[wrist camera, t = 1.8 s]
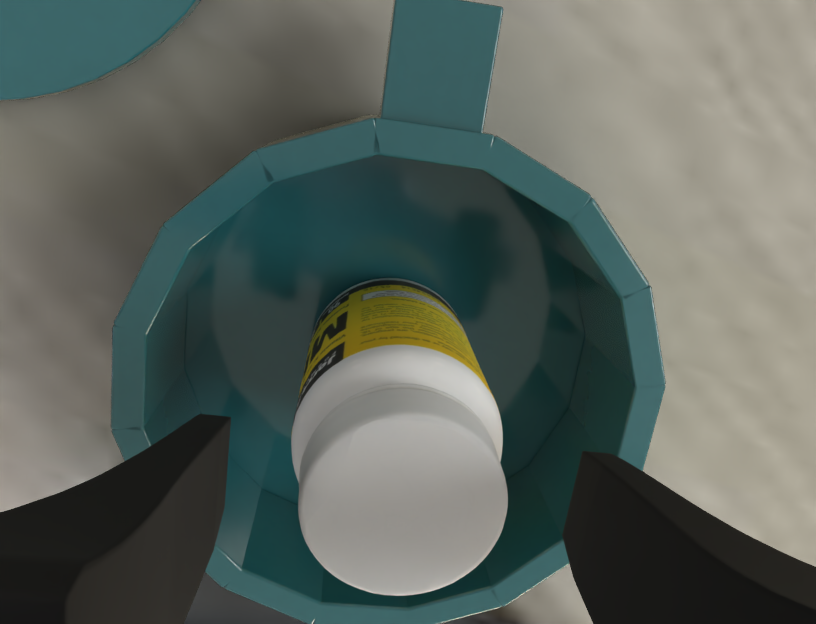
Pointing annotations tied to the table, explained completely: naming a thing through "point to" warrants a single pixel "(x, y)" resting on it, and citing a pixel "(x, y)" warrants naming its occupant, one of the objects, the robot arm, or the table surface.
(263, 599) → the pot
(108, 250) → the table surface
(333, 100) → the table surface
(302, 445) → the supplement bottle
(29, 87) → the pot lid
